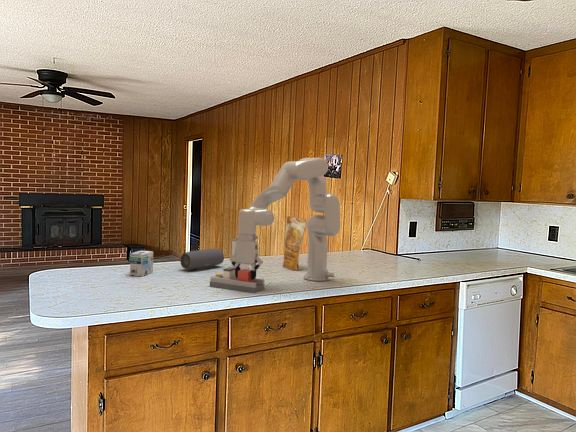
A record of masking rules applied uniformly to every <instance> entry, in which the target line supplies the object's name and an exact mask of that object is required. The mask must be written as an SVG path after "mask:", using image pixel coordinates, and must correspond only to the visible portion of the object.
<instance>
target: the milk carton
mask: <svg viewBox="0 0 576 432" xmlns="http://www.w3.org/2000/svg"><path fill="white" fill-rule="evenodd" d="M237 240H238V236H236V237H235V238H234V239H233V240H232V241H231V257H232V256H233V255H234V254H235V246H236V242H237ZM234 261H235V260H234ZM230 263H231V266H230V267H234V266H233V264H232V262H231V261H230ZM239 267H240V270H241V269H249V268H250V264H243V263H241V264H240V266H239ZM249 270H250V269H249Z"/></svg>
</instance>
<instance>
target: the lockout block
mask: <svg viewBox="0 0 576 432" xmlns="http://www.w3.org/2000/svg"><path fill="white" fill-rule="evenodd" d="M251 271H252V269H241V270H238V280H239V281H247V282H253V280H251Z"/></svg>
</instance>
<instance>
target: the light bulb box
mask: <svg viewBox="0 0 576 432" xmlns="http://www.w3.org/2000/svg"><path fill="white" fill-rule="evenodd" d="M129 257H130V259H129V260H130V262H129V276H131V275H134V277H141V276H142V277H145V276H148V275H150V274H149V273H151V274H153V273H154V250H153V251H151V250H137V251H134V252H131V253H130V256H129ZM152 272H153V273H152ZM147 274H148V275H147ZM144 275H145V276H144Z"/></svg>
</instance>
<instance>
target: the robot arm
mask: <svg viewBox="0 0 576 432" xmlns="http://www.w3.org/2000/svg"><path fill="white" fill-rule="evenodd" d="M328 170H329V164H328V161H327V160H326V159H325V158H323V157H304V158H301V159H300V158H299V160H297V161H296V160H293V161H285V163H283V164H282V166H281V167H280V169H279V171H278V172H277V174H276V175H275V177H273V178H274V179H273V180H272V182H271V183H270V185H269V186H268V187H267V188H265V189H264V190H263V191H262V192H261V193H259V194H258V195H257V196H256V197H255V198H254V199H253V200H252V203H250V206H249V207H248V208H242V209H240V210H239V212H238V227H237V229H238V231H237V232H238V233H237V234H238V235H237V237H238V240H237V242H236V246H235V254H234V255H233V256H232V255H231V256H230V257H229V261H230V263H231V262H232V264H233V266H234V268H235V277H236V278H237V277H238V270H240V267H239V266H240V264H241V263H243V264H249V266H250V267H251V270H252V271H251V280H253V279H255V278H256V277H257V270H258V269H259V268H260V267H261V266H262V265H263V264H264V261H263V260H262V259H261V258H260V256H259V255H260V253H259V245H258V241H257V240H258V239H259V236H258V235H257V234H256V232H257V230H256V229H257V226H261V227H268V226H271V225H272V224H273V223H274V221H275V214H274V212H273V211H272V210H270V209H268V208H267V207H269V206H271V204H272V203H275V202H276V201H279V200H281V199H284V198H285V197H286V196H287V195H288V193H289V192H290V190H291V188H292V186H293V185H294V183H295V181H307V184H308V194H309V195H308V196H309V197H308V199H309V208H310V210H311V211H312V212H315V213H320V214H314V215H312V216H310V217H309V218H308V219H307V221H306V227H307V229H306V230H307V235H308V245H307V247H308V248H307V250H308V251H307V269H306V271H307V272H306V274H304V275H303V278H304V279H305V280H307V281H313V282H326V281H329V280H330V278H335V273H334V272H329V269H327V268H328V267H327V266H328V248H329V245H328V244H329V242H328V238H327V237H335V236H336V235H338V234H339V233H340V229H341V203H340V199H339V198H338V197H337V195H336V194H334V193H328V190H327V180H326V177H325V176H324V175H326V173H328ZM323 213H324V214H323ZM322 214H323V215H322ZM234 260H235V261H234Z"/></svg>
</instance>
